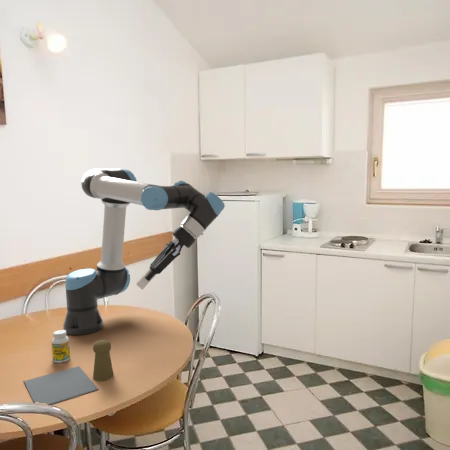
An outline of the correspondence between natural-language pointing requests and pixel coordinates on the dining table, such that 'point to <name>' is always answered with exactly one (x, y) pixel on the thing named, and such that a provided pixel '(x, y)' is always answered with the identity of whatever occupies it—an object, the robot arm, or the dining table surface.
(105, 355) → the cork
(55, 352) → the supplement bottle
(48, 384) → the mat
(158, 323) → the dining table surface
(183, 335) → the dining table surface
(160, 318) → the dining table surface
